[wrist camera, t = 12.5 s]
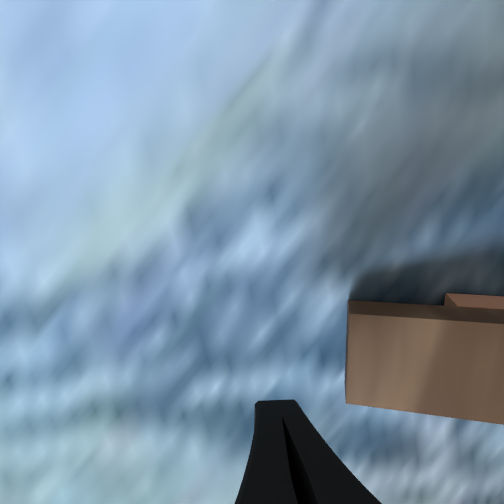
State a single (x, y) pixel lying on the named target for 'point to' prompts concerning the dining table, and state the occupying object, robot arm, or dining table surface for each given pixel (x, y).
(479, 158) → the dining table surface
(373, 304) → the domino
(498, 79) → the dining table surface
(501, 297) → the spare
